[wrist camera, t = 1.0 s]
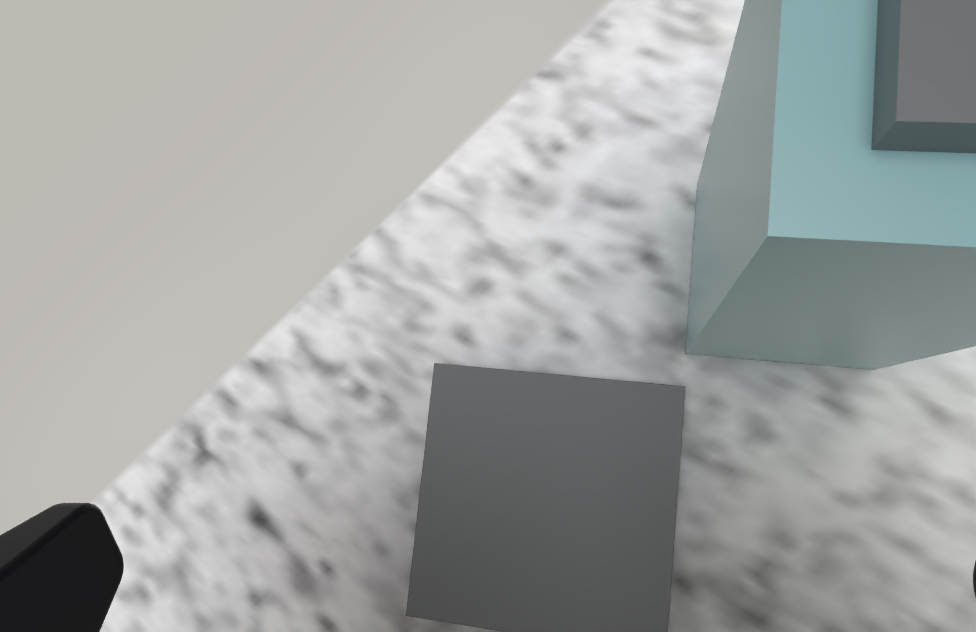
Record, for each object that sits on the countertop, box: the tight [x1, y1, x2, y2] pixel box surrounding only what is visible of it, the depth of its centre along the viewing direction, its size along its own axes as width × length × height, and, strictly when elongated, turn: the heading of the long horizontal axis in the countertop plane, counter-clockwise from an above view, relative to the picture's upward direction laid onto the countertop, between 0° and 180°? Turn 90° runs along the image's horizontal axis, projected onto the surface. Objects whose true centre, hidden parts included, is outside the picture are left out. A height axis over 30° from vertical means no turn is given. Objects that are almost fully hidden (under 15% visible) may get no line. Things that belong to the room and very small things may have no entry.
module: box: [685, 0, 976, 370], centre depth 14 cm, size 5×5×15 cm
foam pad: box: [406, 363, 685, 632], centre depth 21 cm, size 7×7×1 cm
